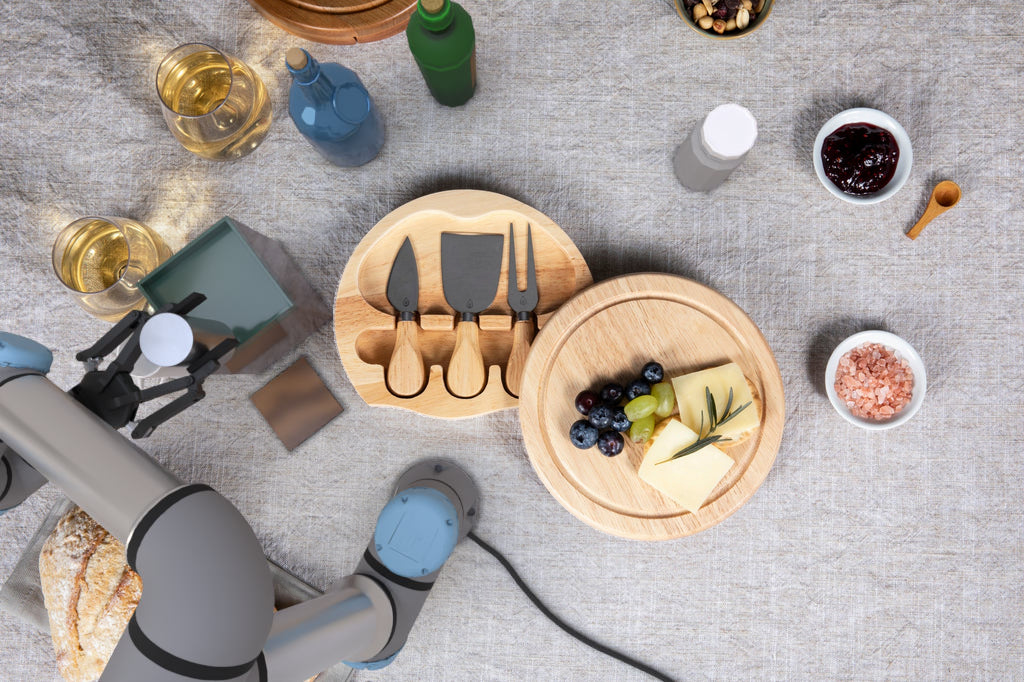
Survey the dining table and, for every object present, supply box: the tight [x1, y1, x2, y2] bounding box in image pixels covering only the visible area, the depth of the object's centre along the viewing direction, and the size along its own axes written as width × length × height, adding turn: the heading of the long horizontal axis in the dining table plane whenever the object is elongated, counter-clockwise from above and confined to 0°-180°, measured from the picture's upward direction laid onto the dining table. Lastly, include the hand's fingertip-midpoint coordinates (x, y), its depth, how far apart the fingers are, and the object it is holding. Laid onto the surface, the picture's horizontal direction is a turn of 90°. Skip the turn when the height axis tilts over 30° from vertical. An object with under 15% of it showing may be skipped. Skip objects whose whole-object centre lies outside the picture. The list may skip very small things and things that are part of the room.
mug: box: [116, 332, 190, 390], centre depth 113 cm, size 12×8×12 cm
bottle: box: [405, 0, 478, 108], centre depth 107 cm, size 11×11×28 cm
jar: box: [673, 102, 759, 192], centre depth 110 cm, size 10×10×18 cm
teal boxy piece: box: [134, 215, 334, 376], centre depth 109 cm, size 17×17×21 cm
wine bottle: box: [284, 47, 386, 168], centre depth 106 cm, size 14×13×30 cm
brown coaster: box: [249, 356, 345, 452], centre depth 118 cm, size 12×12×1 cm
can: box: [140, 313, 236, 367], centre depth 87 cm, size 7×7×12 cm
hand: (216, 318), depth 85 cm, fingers closed on can, 7 cm apart
